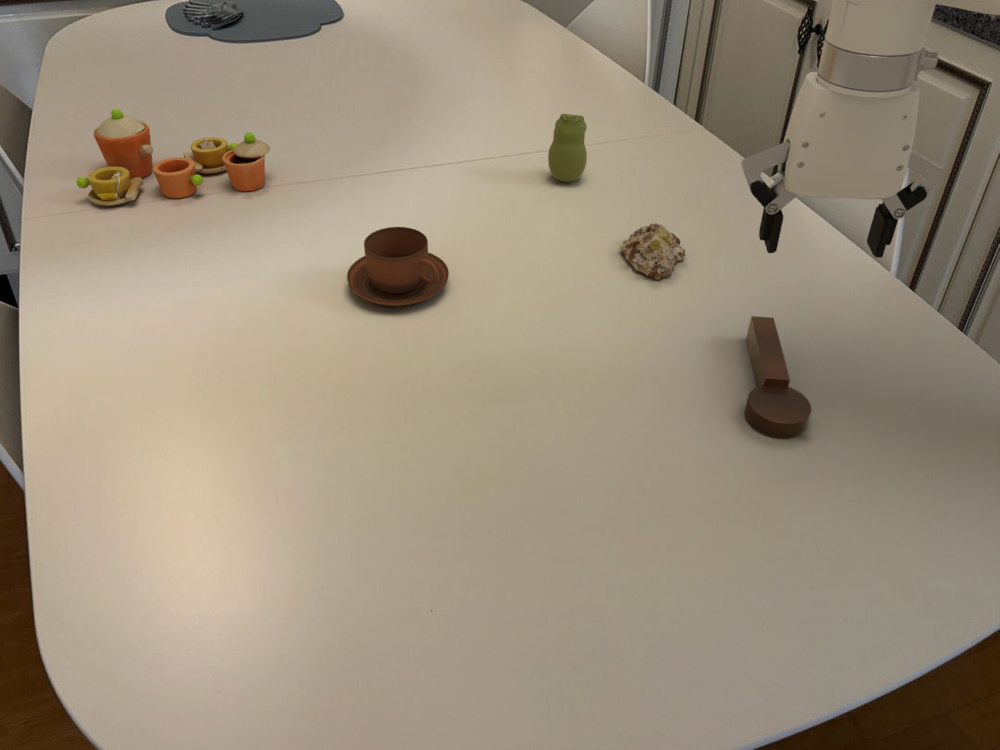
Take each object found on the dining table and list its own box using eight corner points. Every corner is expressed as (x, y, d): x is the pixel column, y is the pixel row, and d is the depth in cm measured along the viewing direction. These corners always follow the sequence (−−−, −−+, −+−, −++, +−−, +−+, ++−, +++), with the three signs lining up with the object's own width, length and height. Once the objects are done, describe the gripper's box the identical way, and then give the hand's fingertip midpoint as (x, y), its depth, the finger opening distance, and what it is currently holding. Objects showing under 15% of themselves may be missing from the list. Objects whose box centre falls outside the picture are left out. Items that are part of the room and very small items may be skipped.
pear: (544, 185, 125) (547, 118, 118) (551, 170, 129) (554, 105, 122) (582, 189, 124) (587, 123, 117) (587, 174, 128) (593, 109, 121)
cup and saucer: (461, 269, 106) (461, 225, 102) (429, 322, 97) (427, 276, 93) (371, 255, 108) (367, 211, 104) (331, 305, 99) (326, 259, 95)
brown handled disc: (811, 441, 82) (819, 417, 80) (748, 436, 82) (754, 412, 80) (784, 340, 95) (790, 318, 93) (729, 337, 95) (734, 314, 93)
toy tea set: (79, 213, 116) (57, 146, 110) (94, 166, 128) (75, 102, 122) (276, 195, 121) (265, 129, 115) (272, 151, 133) (262, 89, 127)
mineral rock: (617, 220, 111) (679, 208, 110) (622, 249, 114) (683, 237, 112) (619, 265, 103) (686, 253, 101) (625, 295, 106) (690, 283, 104)
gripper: (962, 52, 72) (905, 232, 83) (754, 48, 74) (724, 225, 84) (993, 83, 66) (927, 272, 77) (766, 78, 68) (732, 264, 78)
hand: (821, 248), depth 81 cm, fingers open, 9 cm apart
